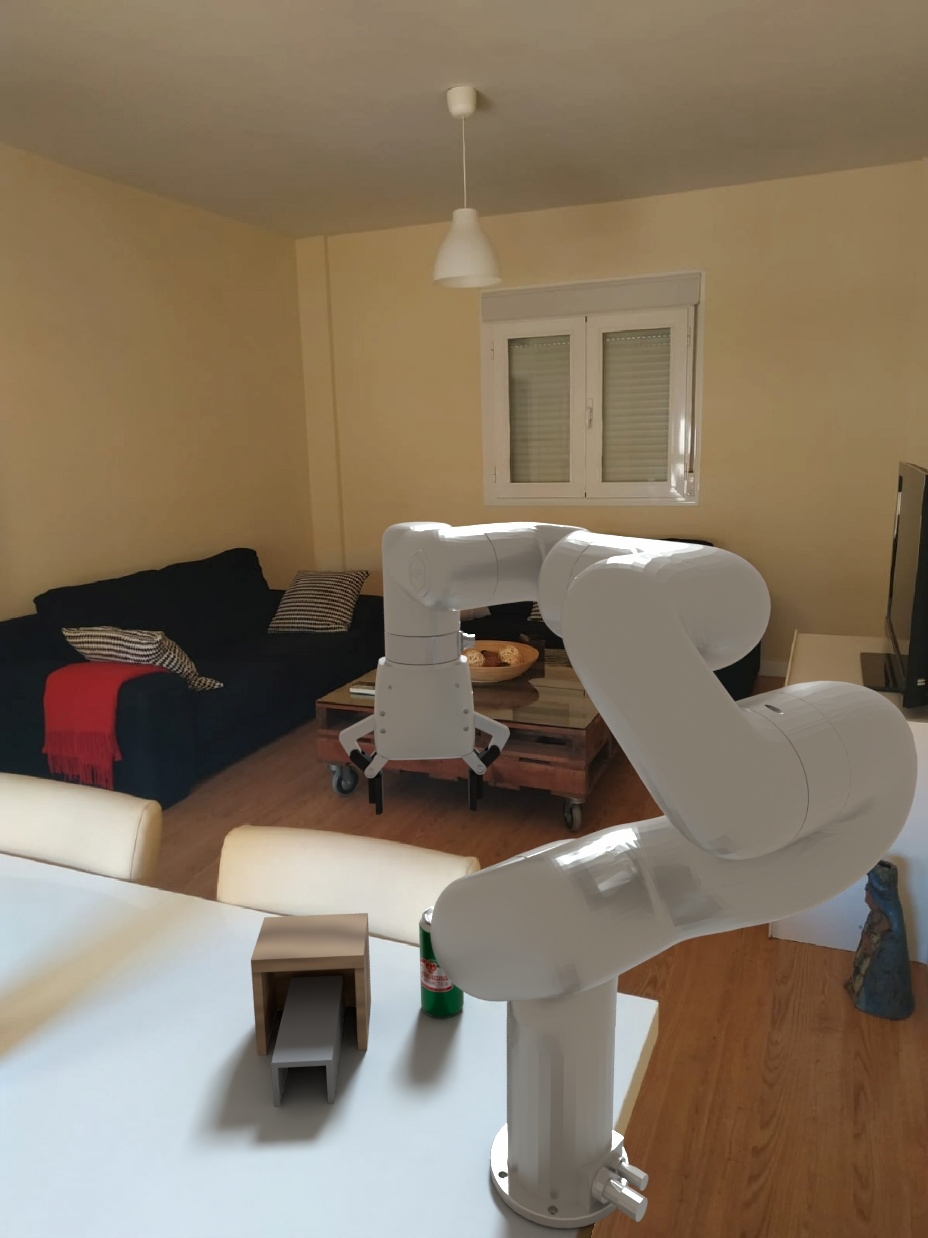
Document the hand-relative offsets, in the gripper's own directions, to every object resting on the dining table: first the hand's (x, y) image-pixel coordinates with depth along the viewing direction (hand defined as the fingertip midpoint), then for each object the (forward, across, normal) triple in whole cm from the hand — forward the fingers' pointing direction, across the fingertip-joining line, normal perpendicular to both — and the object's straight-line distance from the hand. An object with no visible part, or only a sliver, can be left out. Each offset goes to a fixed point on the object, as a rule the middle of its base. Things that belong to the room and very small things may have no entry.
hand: (426, 807), depth 89 cm
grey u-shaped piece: (+28, +13, 0) cm, 31 cm away
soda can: (+28, -1, -7) cm, 29 cm away
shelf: (+28, +13, -5) cm, 32 cm away
